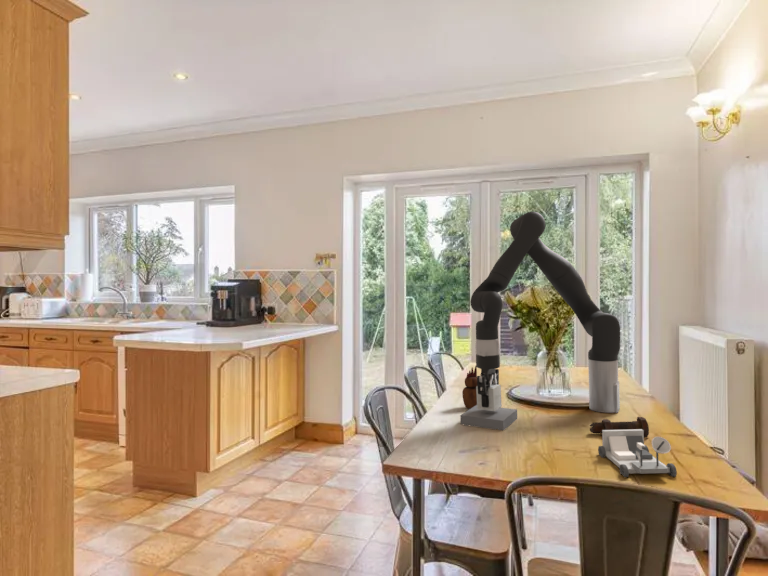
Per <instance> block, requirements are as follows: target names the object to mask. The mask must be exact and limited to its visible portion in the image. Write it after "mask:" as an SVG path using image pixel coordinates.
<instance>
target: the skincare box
mask: <svg viewBox="0 0 768 576" xmlns="http://www.w3.org/2000/svg"><path fill="white" fill-rule="evenodd" d="M501 387H502V385H501V384H499V385H497V384H496V385H495V384H492V385H491V388H489V407H482V400H481V395H480V394H478V386H476V394H477V409H483V410H490V411H495V410H497V409H499V408H502V390H501ZM480 389H481V387H480ZM486 390H487V388H486ZM483 391H484V388H483Z"/></svg>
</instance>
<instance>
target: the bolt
mask: <svg viewBox="0 0 768 576" xmlns="http://www.w3.org/2000/svg"><path fill="white" fill-rule="evenodd" d="M628 429H642V430H644V438H647V437H648V436H649V433H650V429H649V424H648V421H647V419H646V418H645V417H643V416H637V418H636V420H632V421H611V420H610V419H607V418H606V419H605V418H603V419H602V420H601V422H599V421H598V422H597V421H595V422H592V423H591V424H589V431H590V432H591V434H593V435H594V434H596V435H597V434H600V435H602V430H628Z"/></svg>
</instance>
